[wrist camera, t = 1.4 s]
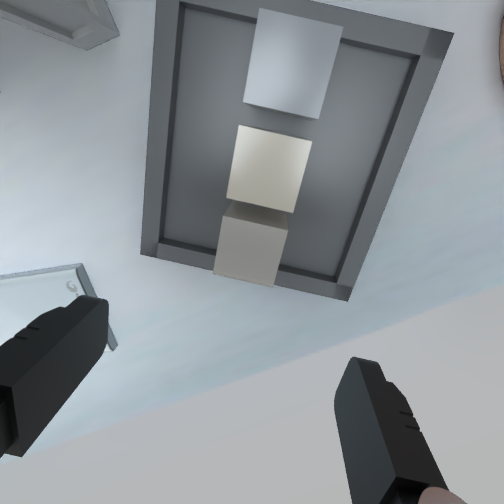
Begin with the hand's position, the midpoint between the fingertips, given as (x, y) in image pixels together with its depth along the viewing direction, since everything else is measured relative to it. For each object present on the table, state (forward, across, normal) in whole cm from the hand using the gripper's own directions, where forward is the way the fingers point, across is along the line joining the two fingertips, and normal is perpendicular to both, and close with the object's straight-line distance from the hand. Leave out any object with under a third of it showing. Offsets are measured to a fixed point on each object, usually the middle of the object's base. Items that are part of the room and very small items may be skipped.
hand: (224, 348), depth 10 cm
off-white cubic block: (+12, 0, -5) cm, 13 cm away
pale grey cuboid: (+12, 0, 0) cm, 12 cm away
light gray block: (+12, 0, -9) cm, 15 cm away
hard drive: (+14, +17, +12) cm, 25 cm away
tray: (+13, 0, -5) cm, 13 cm away
